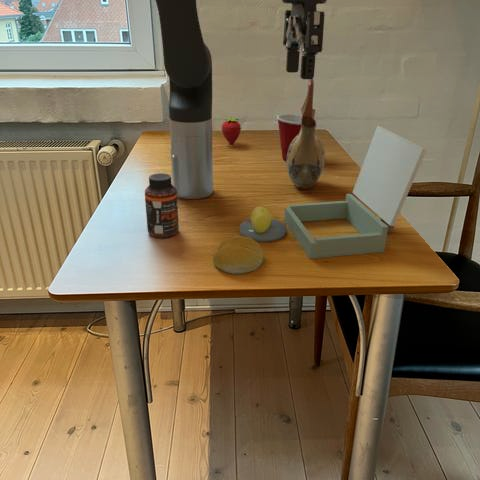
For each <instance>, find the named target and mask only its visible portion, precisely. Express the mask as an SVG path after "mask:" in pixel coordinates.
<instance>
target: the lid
mask: <svg viewBox="0 0 480 480" xmlns="http://www.w3.org/2000/svg"><path fill="white" fill-rule="evenodd" d="M426 153H427V149H426V148H424V147H422V146H421V145H418V144H416V143H415V142H412V141H410V140H409V139H406V138H404V137H402V136H401V135H398V134H397V133H395V132H393V131H390V130H388V129H387V128H386V127H385V128H384V127H383V126H381V125H380V126H379V125H377V126H376V128H375V132H374V134H373V137H372V139H371V142H370V145H369V147H368V150H367V152H366V155H365V158H364V161H363V164H362V166H361V168H360V171H359V174H358V176H357V179H356V182H355V184H354V188H353V190H352V193H351V194H352V195H354V196H356V198H357V199H358V200H360V202H361V203H363V204H365V206H366V207H367V208H368V209H369V210H372V212H374V213H375V215H376V216H377V215H378V216H377V217H380V219H381V218H382V219H383V220H384V221H385V222H386V223H388V224H389V225H390V226H394V225H396V223H397V220H398V218H399V215H400V213H401V210H402V208H403V206H404V204H405V201H406V199H407V197H408V194H409V192H410V190H411V187H412V186H413V182H414V180H415V178H416V176H417V174H418V171H419V169H420V166H421V164H422V162H423V159H424V157H425V155H426ZM394 227H395V226H394Z"/></svg>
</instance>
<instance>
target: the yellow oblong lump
mask: <svg viewBox="0 0 480 480" xmlns="http://www.w3.org/2000/svg"><path fill="white" fill-rule="evenodd" d="M250 217H251V218H250V219H251V222H252V226H253V228H254V230H255V231H256V232H258V233H264V232H265V231H266V230H267V229H268V228H269V227H270V225H271V223H272V219H273V216H272V213H271V212H270V210H269V209H268V208H266V207H265V206H257V207H255V208H254V209H253V211H252V212H251V216H250Z"/></svg>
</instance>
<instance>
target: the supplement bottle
mask: <svg viewBox="0 0 480 480" xmlns="http://www.w3.org/2000/svg"><path fill="white" fill-rule="evenodd" d="M171 176H172V175H170V174H169V173H160V172H159V173H158V172H157V173H153V174H150V175H149V177H148V183H149V185H148V186H147V187H146V188H145V190H144V202H145V213H146V214H145V215H146V226H147V233H148V234H149V235H150V236H152V237H154V238H160V239H161V238H162V239H163V238H165V239H166V238H170V237H173V236H175V235H176V234H177V233H178V232H179V227H180V226H179V214H178V213H179V211H178V210H179V209H178V208H179V206H178V203H179V202H178V197H177V190H176V188H175V187H174V186H173V183H172V177H171Z"/></svg>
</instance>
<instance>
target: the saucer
mask: <svg viewBox="0 0 480 480" xmlns="http://www.w3.org/2000/svg"><path fill="white" fill-rule="evenodd" d="M286 233H287V227H286V225H285V224H284V223H283V222H281V221H280V220H276V219H273V218H272V223H271V225H270V227H269V228H268V229H267V230H266V231H265V232H264V233H258V232H256V231H255V230H254V228H253V226H252V222H251V218H250V219H246V220H244V221H243V222H241V223H240V225H239V234H240V236H245V237H249V238H251V239H253V240H254V241H256V242H257V243H258V242H259V243H260V242H261V243H267V242H268V243H269V242H270V243H271V242H275V241H278V240H281V239H283V237H284V238H285V235H286Z"/></svg>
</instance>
